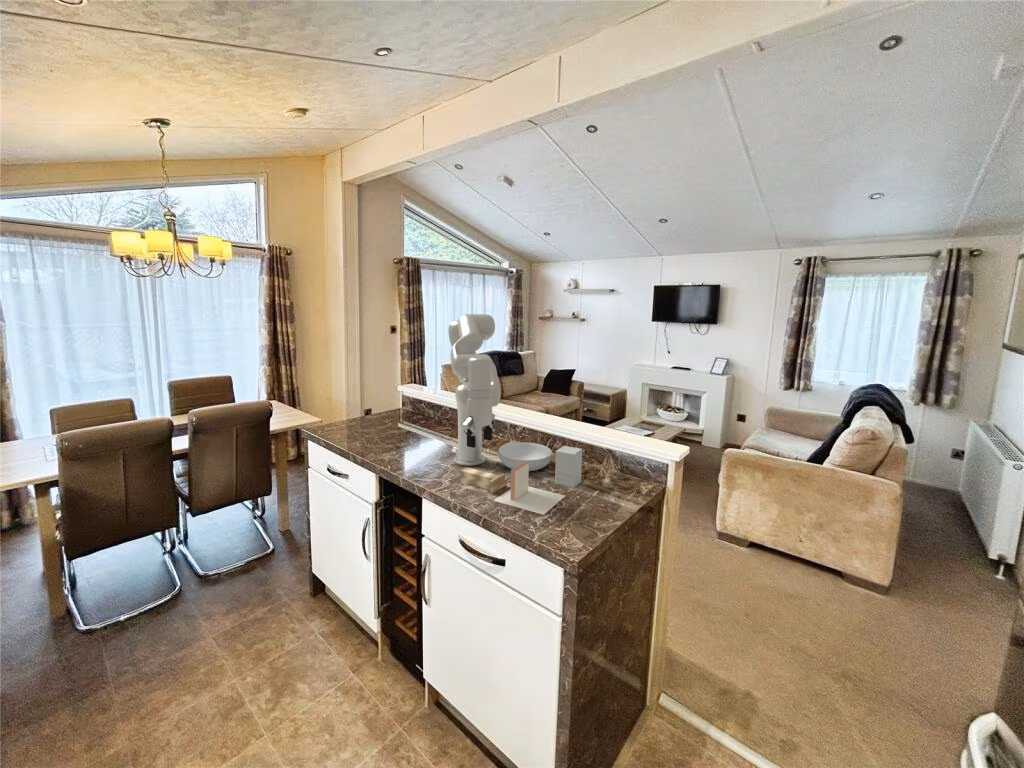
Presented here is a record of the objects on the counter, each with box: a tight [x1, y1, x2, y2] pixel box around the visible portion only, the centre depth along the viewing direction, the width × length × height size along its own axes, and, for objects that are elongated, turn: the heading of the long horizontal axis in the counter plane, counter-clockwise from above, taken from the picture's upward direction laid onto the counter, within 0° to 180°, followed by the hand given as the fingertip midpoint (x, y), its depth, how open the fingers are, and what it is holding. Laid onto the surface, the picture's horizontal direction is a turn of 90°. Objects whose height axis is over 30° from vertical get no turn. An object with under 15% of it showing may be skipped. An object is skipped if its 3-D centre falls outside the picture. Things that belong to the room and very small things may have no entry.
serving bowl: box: [497, 441, 553, 472], centre depth 171 cm, size 21×21×7 cm
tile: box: [510, 462, 530, 501], centre depth 143 cm, size 2×9×10 cm, turn 149°
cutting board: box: [492, 485, 566, 516], centre depth 142 cm, size 18×16×1 cm
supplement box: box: [554, 445, 583, 489], centre depth 155 cm, size 7×7×13 cm
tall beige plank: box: [459, 466, 506, 495], centre depth 152 cm, size 15×8×5 cm, turn 59°
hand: (479, 443), depth 149 cm, fingers open, 9 cm apart
